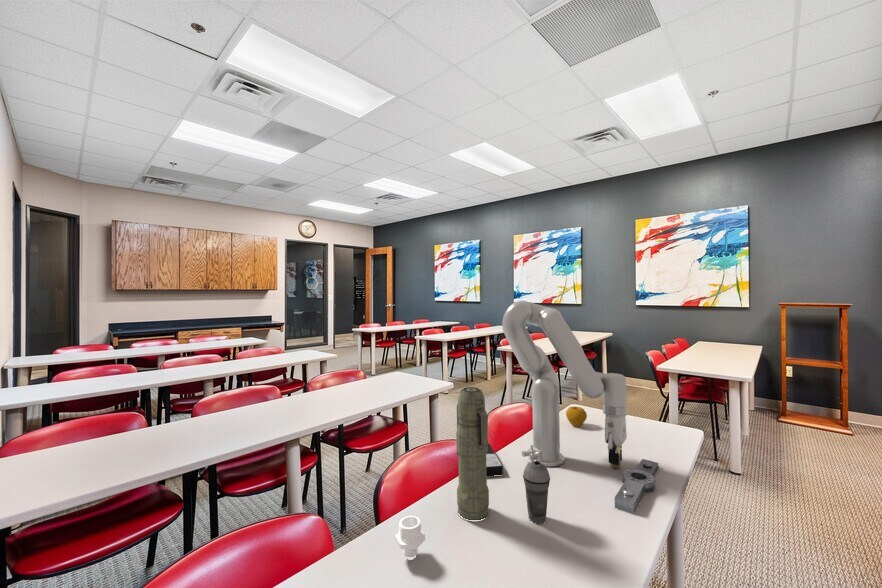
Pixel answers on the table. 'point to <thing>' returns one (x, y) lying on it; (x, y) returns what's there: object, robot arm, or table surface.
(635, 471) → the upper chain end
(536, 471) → the mini scuba tank
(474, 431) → the thermos
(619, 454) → the brass pin
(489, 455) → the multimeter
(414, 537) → the pipe fitting
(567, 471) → the table surface
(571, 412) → the apple
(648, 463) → the lower chain end
